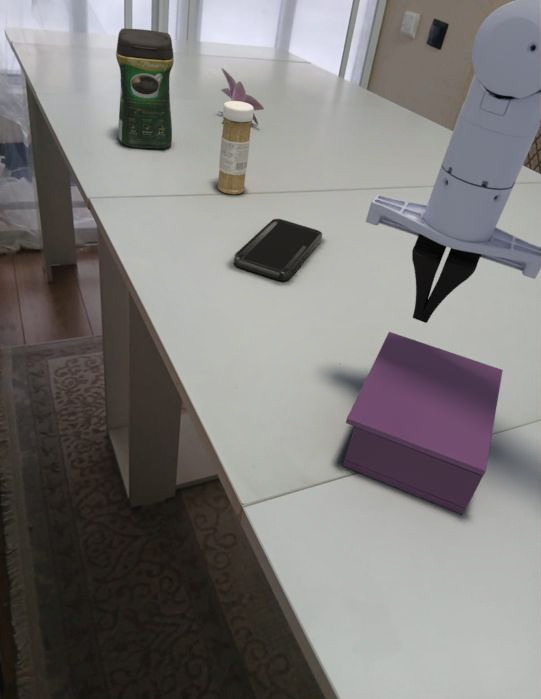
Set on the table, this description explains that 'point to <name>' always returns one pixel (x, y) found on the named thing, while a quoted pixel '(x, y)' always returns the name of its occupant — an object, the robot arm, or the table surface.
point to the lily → (240, 94)
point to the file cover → (430, 402)
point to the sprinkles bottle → (234, 146)
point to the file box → (411, 470)
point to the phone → (278, 249)
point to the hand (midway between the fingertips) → (421, 315)
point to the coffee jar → (145, 88)
